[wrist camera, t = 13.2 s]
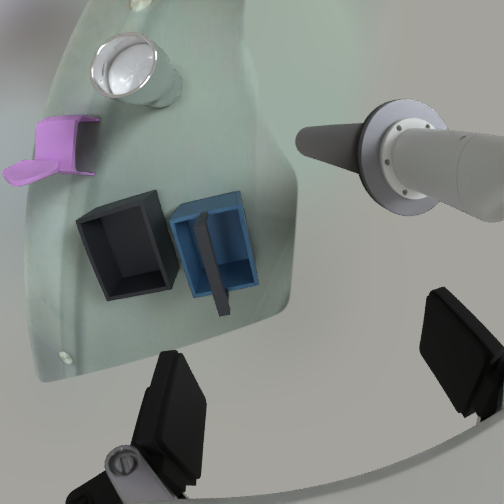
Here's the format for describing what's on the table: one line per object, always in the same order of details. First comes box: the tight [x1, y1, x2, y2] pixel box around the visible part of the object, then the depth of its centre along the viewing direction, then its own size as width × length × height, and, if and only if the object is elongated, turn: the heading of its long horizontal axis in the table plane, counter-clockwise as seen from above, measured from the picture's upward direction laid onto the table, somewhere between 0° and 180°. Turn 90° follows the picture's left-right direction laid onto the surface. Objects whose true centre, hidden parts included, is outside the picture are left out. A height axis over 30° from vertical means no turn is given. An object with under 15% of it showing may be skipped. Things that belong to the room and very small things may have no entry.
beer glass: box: [90, 32, 182, 108], centre depth 26 cm, size 7×7×15 cm
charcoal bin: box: [76, 190, 179, 301], centre depth 38 cm, size 10×12×7 cm
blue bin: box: [169, 191, 259, 316], centre depth 36 cm, size 8×10×13 cm
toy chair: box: [2, 115, 100, 186], centre depth 28 cm, size 8×9×15 cm
